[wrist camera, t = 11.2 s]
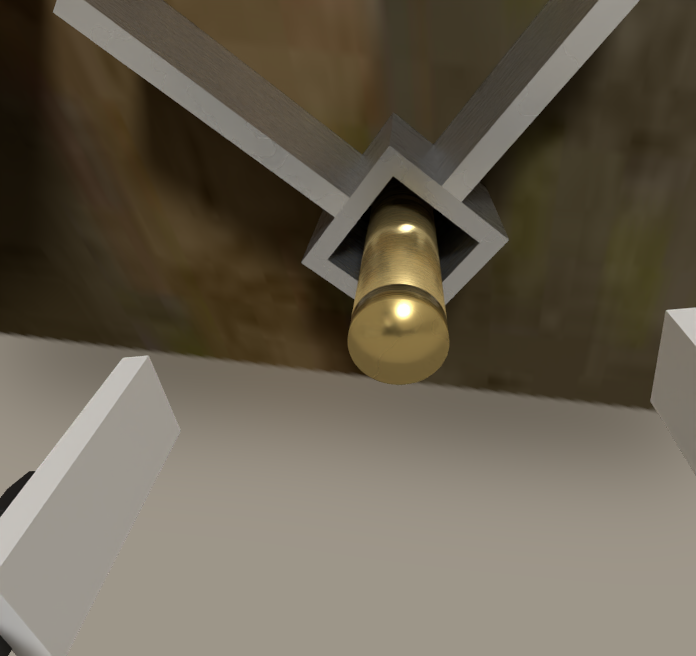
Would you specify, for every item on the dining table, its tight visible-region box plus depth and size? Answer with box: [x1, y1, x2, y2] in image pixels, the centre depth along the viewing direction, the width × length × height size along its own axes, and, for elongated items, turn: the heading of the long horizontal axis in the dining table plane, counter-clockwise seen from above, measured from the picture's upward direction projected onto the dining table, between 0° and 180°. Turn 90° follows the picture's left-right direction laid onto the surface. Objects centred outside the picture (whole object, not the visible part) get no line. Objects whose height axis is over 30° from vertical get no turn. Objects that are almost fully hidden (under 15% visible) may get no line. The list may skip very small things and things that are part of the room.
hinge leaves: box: [53, 0, 639, 305], centre depth 21 cm, size 18×18×7 cm
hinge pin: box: [348, 176, 449, 385], centre depth 22 cm, size 3×3×14 cm
